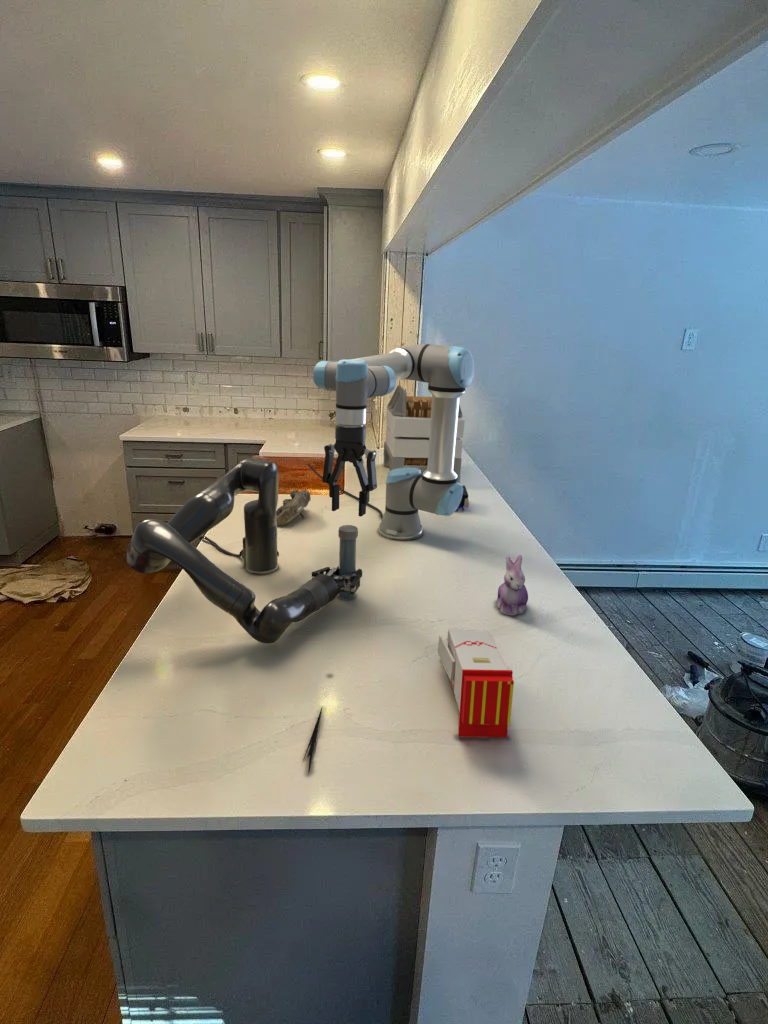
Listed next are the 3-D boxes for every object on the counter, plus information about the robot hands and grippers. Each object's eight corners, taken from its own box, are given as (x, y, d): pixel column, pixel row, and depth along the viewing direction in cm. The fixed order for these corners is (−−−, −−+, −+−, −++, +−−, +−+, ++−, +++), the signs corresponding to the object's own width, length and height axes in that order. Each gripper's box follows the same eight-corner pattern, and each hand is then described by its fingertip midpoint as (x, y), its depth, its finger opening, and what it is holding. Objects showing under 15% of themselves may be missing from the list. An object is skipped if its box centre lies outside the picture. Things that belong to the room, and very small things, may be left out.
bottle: (357, 594, 157) (360, 529, 150) (349, 601, 153) (351, 534, 146) (344, 590, 159) (345, 525, 152) (335, 596, 155) (336, 530, 148)
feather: (331, 679, 122) (336, 673, 122) (307, 777, 96) (313, 769, 95) (324, 675, 122) (329, 669, 121) (298, 772, 95) (304, 764, 95)
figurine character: (468, 516, 224) (463, 500, 237) (471, 498, 221) (465, 483, 234) (452, 515, 224) (447, 499, 237) (453, 498, 220) (449, 482, 234)
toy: (488, 613, 130) (523, 677, 101) (484, 667, 133) (517, 744, 104) (435, 612, 130) (455, 676, 101) (432, 666, 133) (451, 743, 103)
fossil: (279, 495, 220) (308, 475, 215) (295, 514, 223) (324, 494, 218) (263, 521, 201) (295, 499, 196) (281, 540, 203) (313, 519, 198)
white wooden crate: (382, 463, 289) (386, 382, 275) (445, 464, 293) (451, 384, 279) (390, 482, 257) (394, 392, 243) (460, 483, 261) (468, 394, 247)
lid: (361, 535, 151) (361, 527, 150) (351, 541, 147) (351, 533, 146) (344, 531, 153) (345, 523, 152) (334, 537, 149) (335, 529, 148)
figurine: (510, 620, 147) (517, 567, 142) (486, 602, 155) (492, 552, 150) (538, 612, 151) (545, 561, 146) (513, 595, 159) (519, 546, 154)
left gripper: (293, 599, 146) (331, 575, 160) (339, 615, 140) (374, 588, 154) (292, 573, 144) (331, 551, 158) (339, 588, 137) (375, 563, 151)
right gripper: (394, 427, 139) (389, 514, 147) (323, 417, 147) (322, 501, 154) (381, 432, 133) (377, 523, 140) (307, 422, 140) (307, 509, 148)
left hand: (352, 569), depth 156 cm, fingers closed on bottle, 4 cm apart
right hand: (348, 512), depth 147 cm, fingers open, 7 cm apart
